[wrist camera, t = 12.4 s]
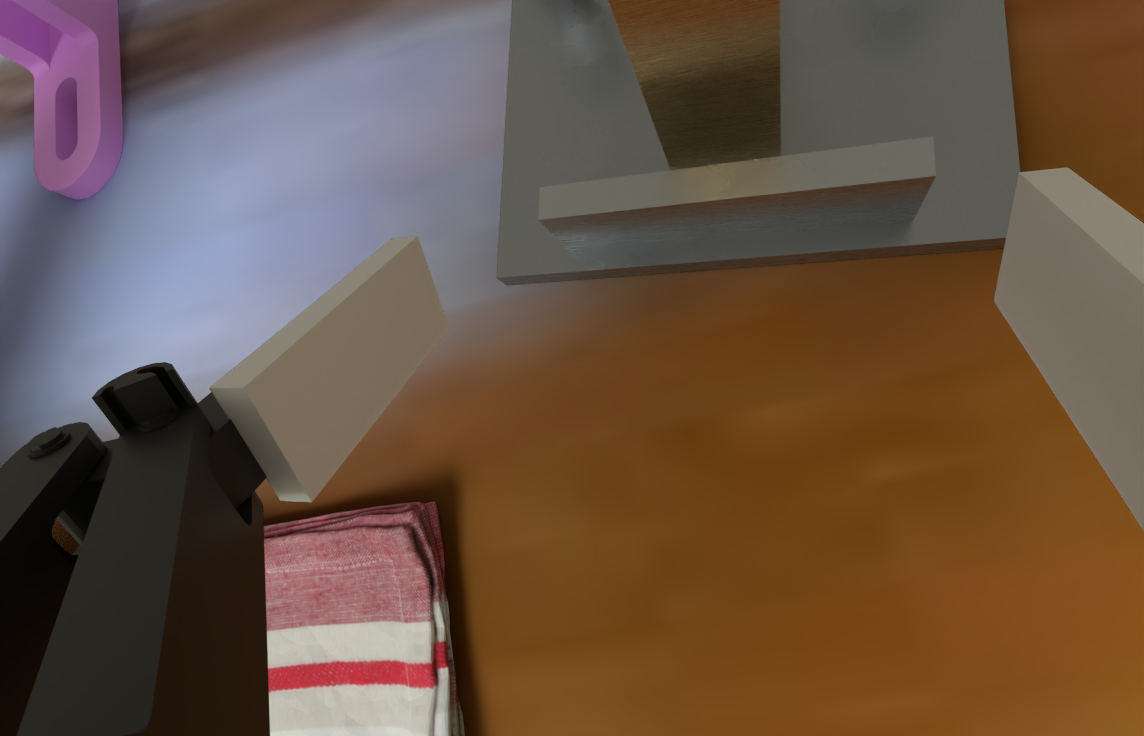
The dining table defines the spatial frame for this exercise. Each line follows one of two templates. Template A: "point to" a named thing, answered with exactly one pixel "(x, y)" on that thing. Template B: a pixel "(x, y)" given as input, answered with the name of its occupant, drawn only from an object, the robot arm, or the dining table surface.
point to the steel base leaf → (765, 180)
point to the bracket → (70, 88)
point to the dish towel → (360, 625)
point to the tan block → (707, 73)
